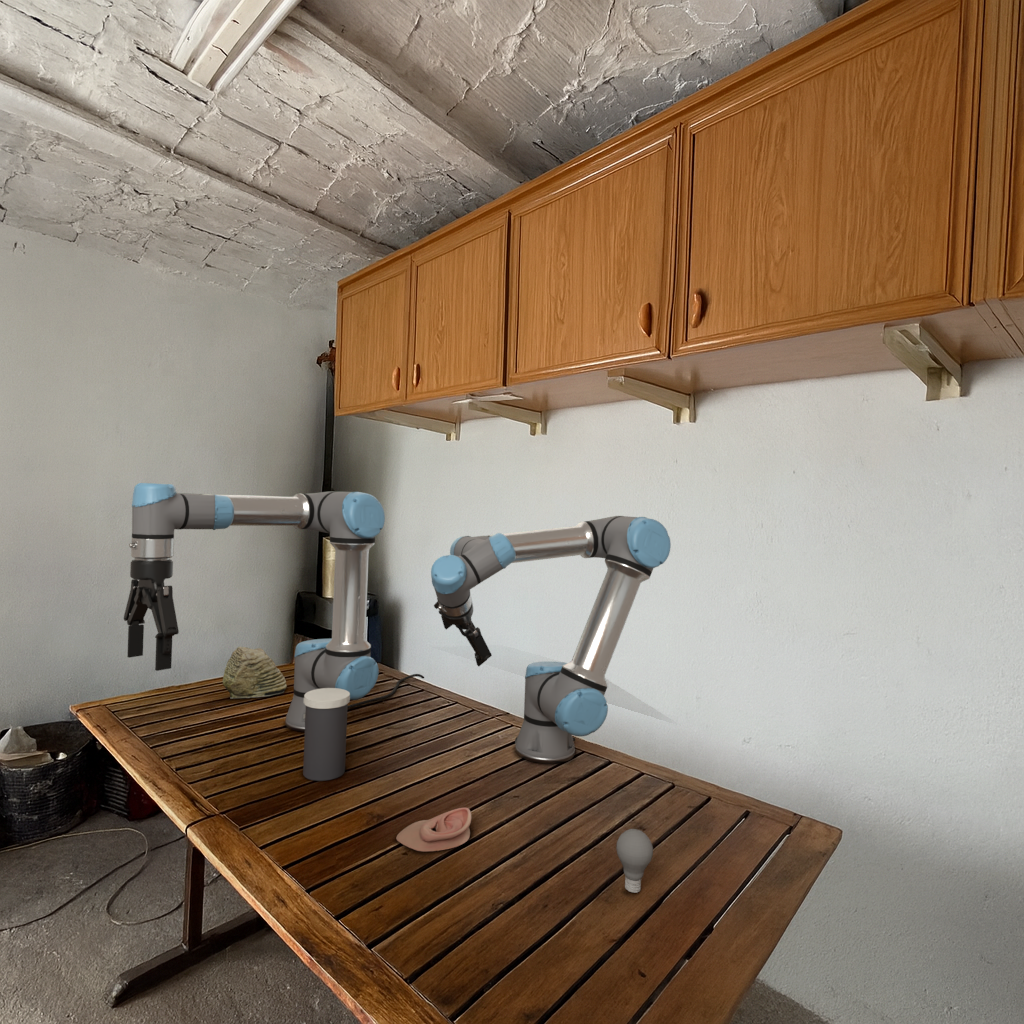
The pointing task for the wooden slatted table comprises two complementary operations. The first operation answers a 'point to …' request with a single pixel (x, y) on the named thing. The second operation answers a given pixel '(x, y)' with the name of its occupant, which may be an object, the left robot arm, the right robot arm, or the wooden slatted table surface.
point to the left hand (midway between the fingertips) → (148, 662)
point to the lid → (326, 698)
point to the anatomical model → (438, 831)
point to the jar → (325, 743)
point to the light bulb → (634, 857)
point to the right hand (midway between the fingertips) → (465, 643)
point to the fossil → (252, 674)
